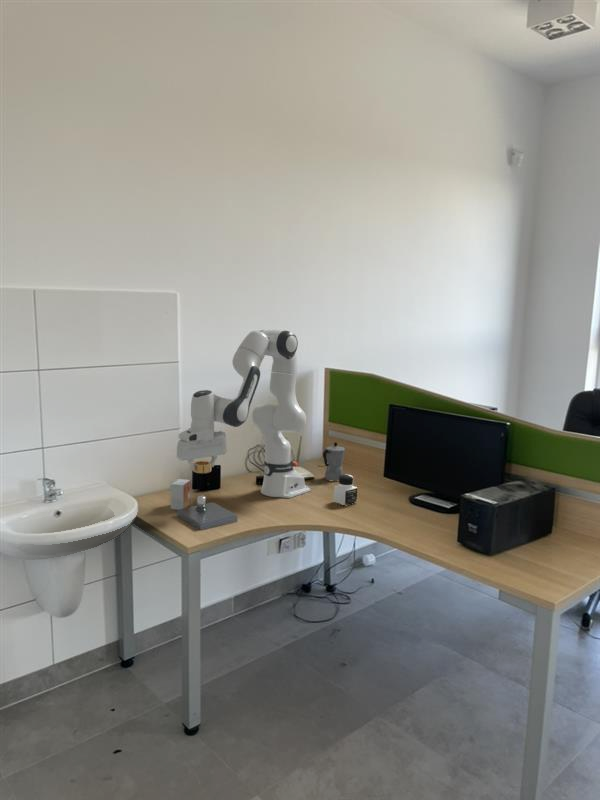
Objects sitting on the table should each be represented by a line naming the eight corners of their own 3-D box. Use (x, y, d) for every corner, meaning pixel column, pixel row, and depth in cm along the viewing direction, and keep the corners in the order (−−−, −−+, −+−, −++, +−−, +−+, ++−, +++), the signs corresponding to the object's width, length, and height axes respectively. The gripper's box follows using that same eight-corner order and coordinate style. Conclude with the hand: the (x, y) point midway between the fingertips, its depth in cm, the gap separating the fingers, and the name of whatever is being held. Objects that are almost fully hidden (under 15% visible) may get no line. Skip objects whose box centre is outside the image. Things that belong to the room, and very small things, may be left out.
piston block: (213, 508, 245) (213, 490, 244) (237, 521, 231) (237, 502, 230) (177, 515, 235) (177, 497, 234) (200, 530, 221) (200, 510, 220)
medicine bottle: (345, 506, 253) (346, 478, 251) (333, 502, 258) (334, 474, 256) (356, 503, 257) (358, 476, 255) (344, 499, 263) (346, 472, 261)
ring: (205, 467, 238) (205, 460, 238) (214, 471, 233) (214, 464, 233) (190, 470, 234) (190, 462, 234) (199, 474, 229) (199, 466, 229)
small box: (183, 510, 241) (183, 485, 239) (170, 509, 242) (170, 484, 240) (190, 504, 249) (191, 479, 247) (178, 503, 250) (178, 478, 248)
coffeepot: (335, 474, 300) (336, 438, 298) (350, 478, 294) (351, 442, 291) (314, 480, 289) (316, 443, 286) (330, 484, 283) (331, 447, 280)
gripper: (221, 428, 240) (221, 462, 242) (174, 434, 227) (174, 470, 230) (230, 431, 235) (229, 466, 238) (182, 437, 223) (182, 474, 225)
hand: (202, 468), depth 234 cm, fingers closed on ring, 7 cm apart
